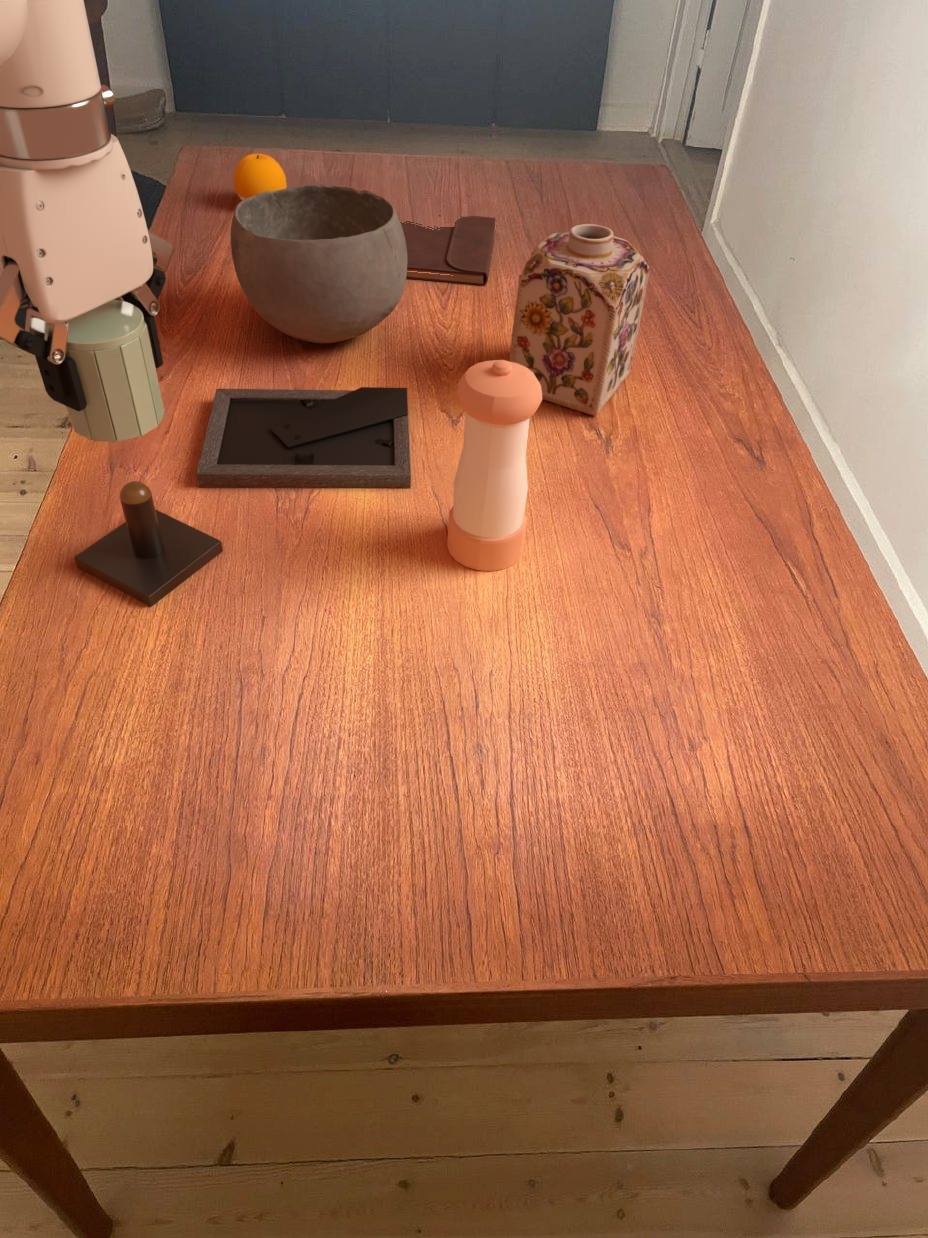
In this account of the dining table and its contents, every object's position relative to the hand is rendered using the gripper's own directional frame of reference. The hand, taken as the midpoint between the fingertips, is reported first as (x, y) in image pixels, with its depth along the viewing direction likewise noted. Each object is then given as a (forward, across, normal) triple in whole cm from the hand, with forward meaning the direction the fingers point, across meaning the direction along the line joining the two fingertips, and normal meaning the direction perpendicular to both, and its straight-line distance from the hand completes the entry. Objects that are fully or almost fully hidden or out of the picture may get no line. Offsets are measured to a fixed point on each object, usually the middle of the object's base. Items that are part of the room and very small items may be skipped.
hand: (108, 380), depth 68 cm
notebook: (+19, -74, -16) cm, 78 cm away
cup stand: (+19, -1, -1) cm, 19 cm away
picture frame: (+19, -24, -1) cm, 30 cm away
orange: (+19, -71, -48) cm, 87 cm away
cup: (+3, 0, -1) cm, 3 cm away
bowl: (+19, -44, -15) cm, 51 cm away
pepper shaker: (+19, -20, +23) cm, 36 cm away
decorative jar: (+19, -52, +16) cm, 57 cm away
